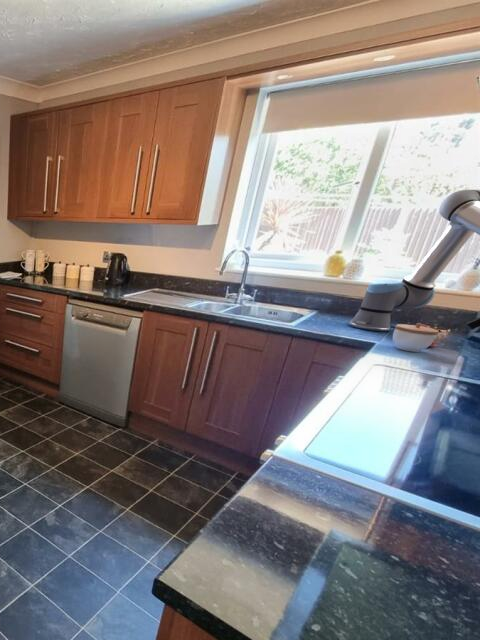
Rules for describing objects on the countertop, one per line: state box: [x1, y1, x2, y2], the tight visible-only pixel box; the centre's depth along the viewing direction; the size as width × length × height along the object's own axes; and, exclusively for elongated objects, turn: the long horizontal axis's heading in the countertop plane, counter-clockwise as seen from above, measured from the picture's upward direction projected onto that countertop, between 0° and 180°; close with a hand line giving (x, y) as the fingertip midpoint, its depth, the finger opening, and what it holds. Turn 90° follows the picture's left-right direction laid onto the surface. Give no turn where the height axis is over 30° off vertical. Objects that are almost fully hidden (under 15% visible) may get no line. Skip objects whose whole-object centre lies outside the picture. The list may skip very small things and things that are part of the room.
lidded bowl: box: [392, 322, 440, 353], centre depth 174 cm, size 13×13×11 cm
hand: (469, 326), depth 165 cm, fingers closed
